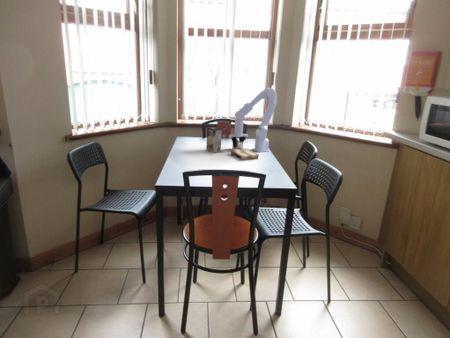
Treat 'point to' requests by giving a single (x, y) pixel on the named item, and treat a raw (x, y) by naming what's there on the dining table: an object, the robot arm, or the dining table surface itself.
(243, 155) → the stand
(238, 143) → the block
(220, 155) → the dining table surface
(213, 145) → the coffee box
